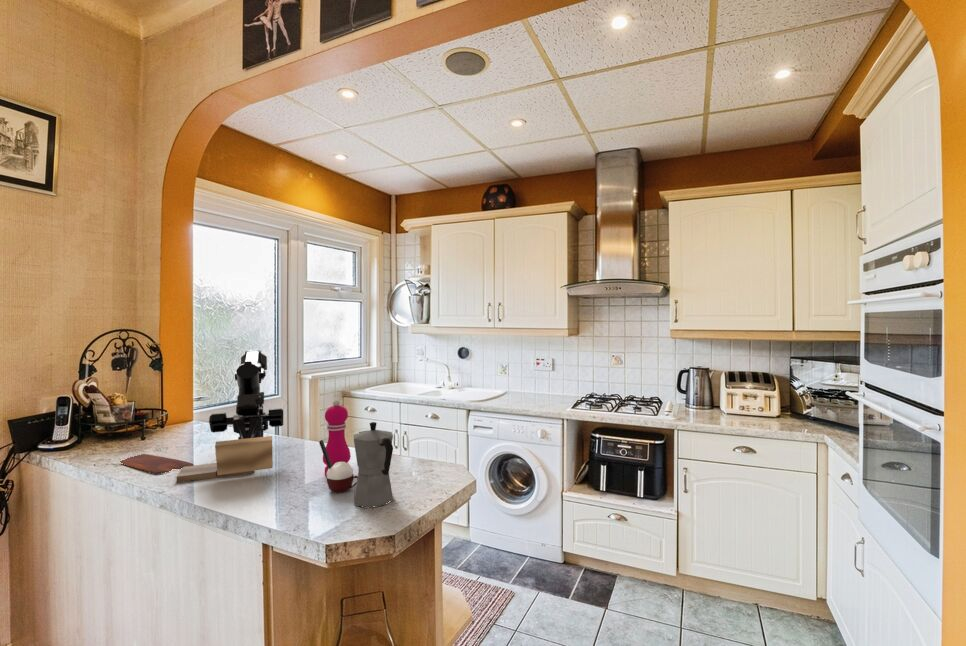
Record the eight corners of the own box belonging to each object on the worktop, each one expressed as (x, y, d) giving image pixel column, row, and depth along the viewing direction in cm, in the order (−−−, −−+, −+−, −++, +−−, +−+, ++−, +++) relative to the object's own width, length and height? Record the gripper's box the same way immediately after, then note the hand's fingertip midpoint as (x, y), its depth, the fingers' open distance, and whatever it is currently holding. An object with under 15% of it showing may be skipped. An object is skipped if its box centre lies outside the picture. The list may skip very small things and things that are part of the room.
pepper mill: (356, 470, 123) (355, 398, 123) (337, 479, 116) (337, 403, 116) (336, 467, 126) (335, 397, 126) (316, 475, 119) (316, 401, 119)
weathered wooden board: (183, 472, 122) (183, 466, 122) (255, 463, 129) (255, 458, 129) (176, 482, 114) (176, 476, 114) (254, 472, 122) (254, 466, 122)
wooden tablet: (196, 467, 129) (196, 461, 129) (157, 477, 120) (158, 471, 120) (147, 454, 141) (147, 449, 141) (109, 463, 132) (109, 457, 132)
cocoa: (361, 489, 110) (364, 441, 110) (344, 498, 104) (347, 446, 104) (331, 482, 114) (334, 435, 114) (313, 490, 108) (316, 441, 108)
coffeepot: (342, 496, 105) (342, 420, 105) (379, 487, 110) (379, 415, 110) (371, 518, 93) (370, 432, 93) (410, 506, 98) (410, 425, 98)
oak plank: (217, 475, 116) (218, 470, 117) (272, 468, 121) (272, 463, 123) (215, 446, 112) (215, 441, 113) (272, 440, 117) (272, 435, 118)
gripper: (209, 385, 124) (203, 433, 113) (283, 381, 131) (283, 426, 121) (213, 408, 131) (208, 456, 121) (283, 403, 138) (283, 447, 128)
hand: (246, 445), depth 123 cm, fingers closed
